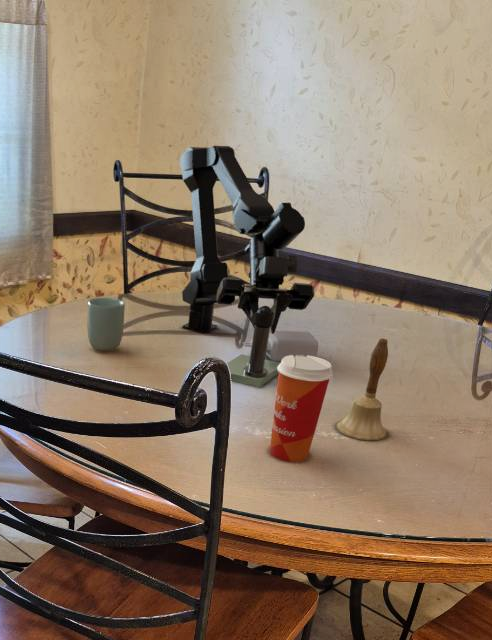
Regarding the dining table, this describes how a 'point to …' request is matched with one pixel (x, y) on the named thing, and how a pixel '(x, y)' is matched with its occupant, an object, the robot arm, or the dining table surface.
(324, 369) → the coffee cup
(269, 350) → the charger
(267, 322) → the spout
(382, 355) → the hand bell
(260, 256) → the robot arm
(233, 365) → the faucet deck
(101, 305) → the cup
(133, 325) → the dining table surface
